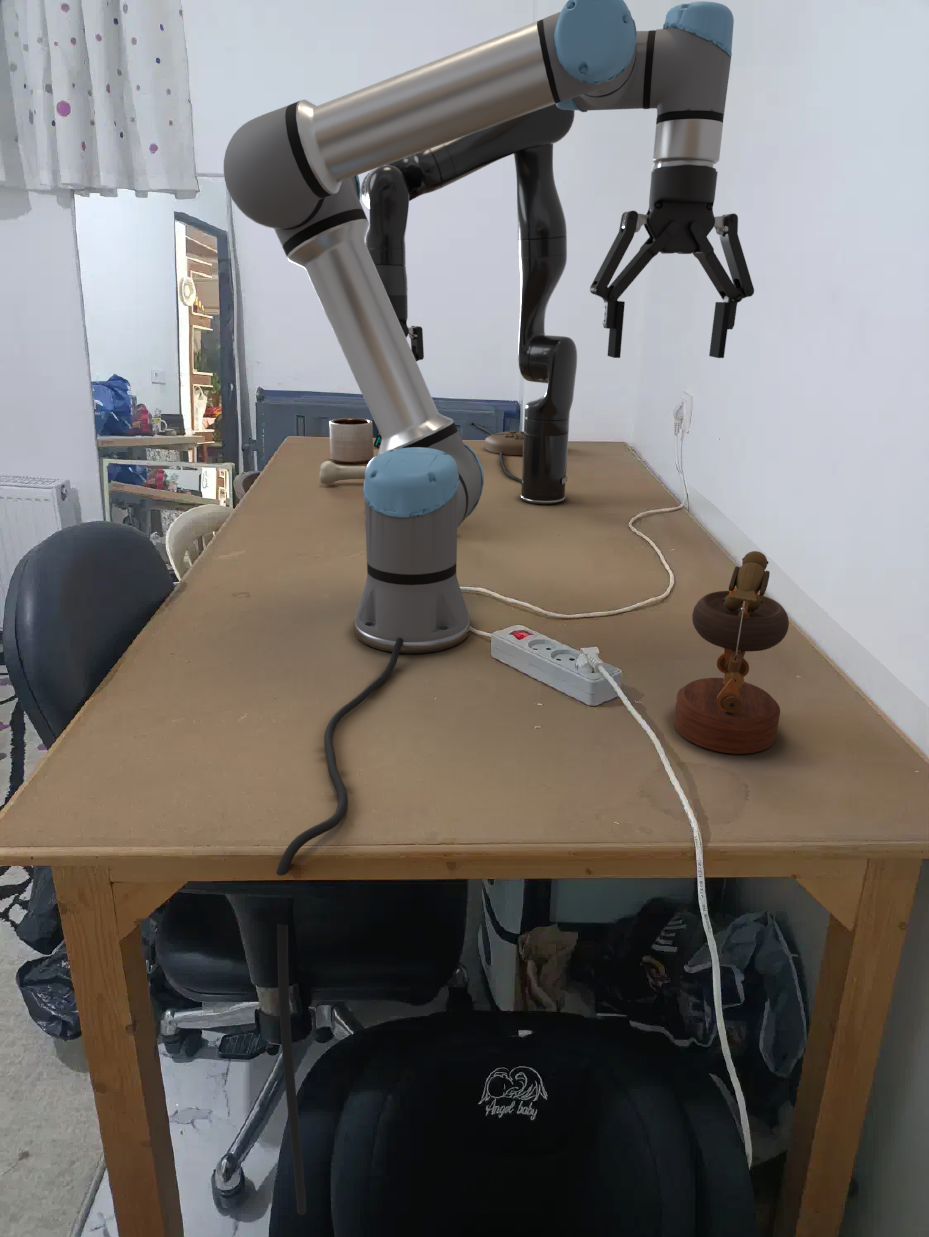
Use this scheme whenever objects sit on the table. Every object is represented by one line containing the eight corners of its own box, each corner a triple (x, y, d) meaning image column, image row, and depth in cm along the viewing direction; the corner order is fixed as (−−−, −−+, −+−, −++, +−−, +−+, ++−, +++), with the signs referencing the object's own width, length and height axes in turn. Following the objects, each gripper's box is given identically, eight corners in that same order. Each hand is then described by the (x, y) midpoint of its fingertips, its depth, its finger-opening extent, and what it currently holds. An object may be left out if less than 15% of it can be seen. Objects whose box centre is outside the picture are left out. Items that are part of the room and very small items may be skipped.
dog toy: (407, 478, 195) (407, 457, 193) (410, 485, 190) (410, 462, 188) (319, 480, 192) (318, 458, 190) (319, 487, 186) (318, 464, 185)
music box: (796, 766, 83) (813, 573, 76) (681, 766, 84) (687, 577, 77) (763, 694, 97) (775, 526, 90) (665, 695, 98) (669, 530, 91)
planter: (327, 456, 217) (325, 418, 214) (369, 454, 220) (368, 417, 217) (334, 465, 208) (332, 425, 204) (377, 463, 211) (376, 424, 207)
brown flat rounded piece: (490, 464, 211) (490, 447, 209) (483, 443, 237) (483, 428, 235) (573, 465, 212) (575, 448, 210) (557, 444, 238) (558, 429, 236)
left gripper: (769, 174, 104) (744, 354, 112) (572, 166, 100) (561, 354, 108) (801, 167, 97) (772, 360, 105) (591, 159, 93) (578, 359, 101)
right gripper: (409, 292, 158) (410, 381, 164) (341, 292, 150) (344, 385, 156) (431, 293, 152) (431, 386, 158) (361, 293, 145) (363, 390, 151)
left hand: (665, 357), depth 106 cm, fingers open, 13 cm apart
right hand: (388, 385), depth 157 cm, fingers open, 8 cm apart
